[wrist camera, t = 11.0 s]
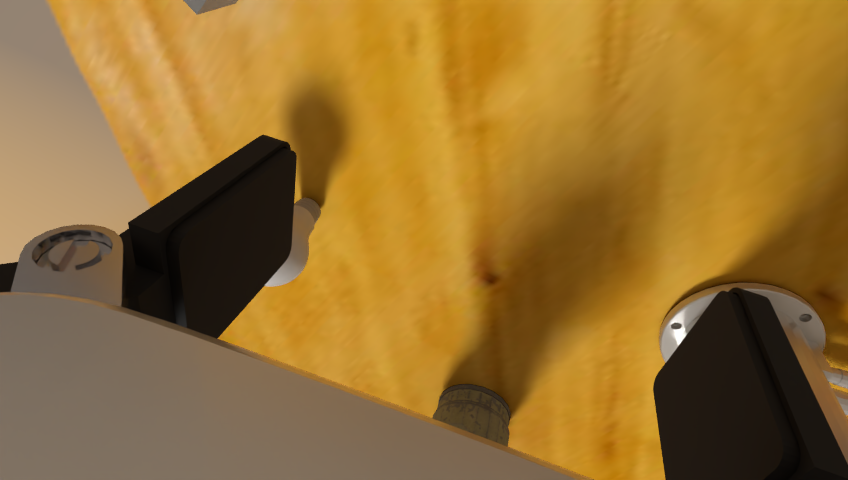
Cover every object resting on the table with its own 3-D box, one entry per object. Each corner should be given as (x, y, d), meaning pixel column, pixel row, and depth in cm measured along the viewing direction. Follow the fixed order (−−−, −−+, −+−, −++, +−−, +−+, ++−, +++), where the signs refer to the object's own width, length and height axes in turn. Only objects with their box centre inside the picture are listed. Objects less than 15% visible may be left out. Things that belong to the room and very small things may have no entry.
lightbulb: (290, 166, 47) (223, 227, 38) (349, 195, 47) (295, 263, 38) (278, 214, 50) (214, 280, 41) (332, 240, 50) (279, 312, 42)
